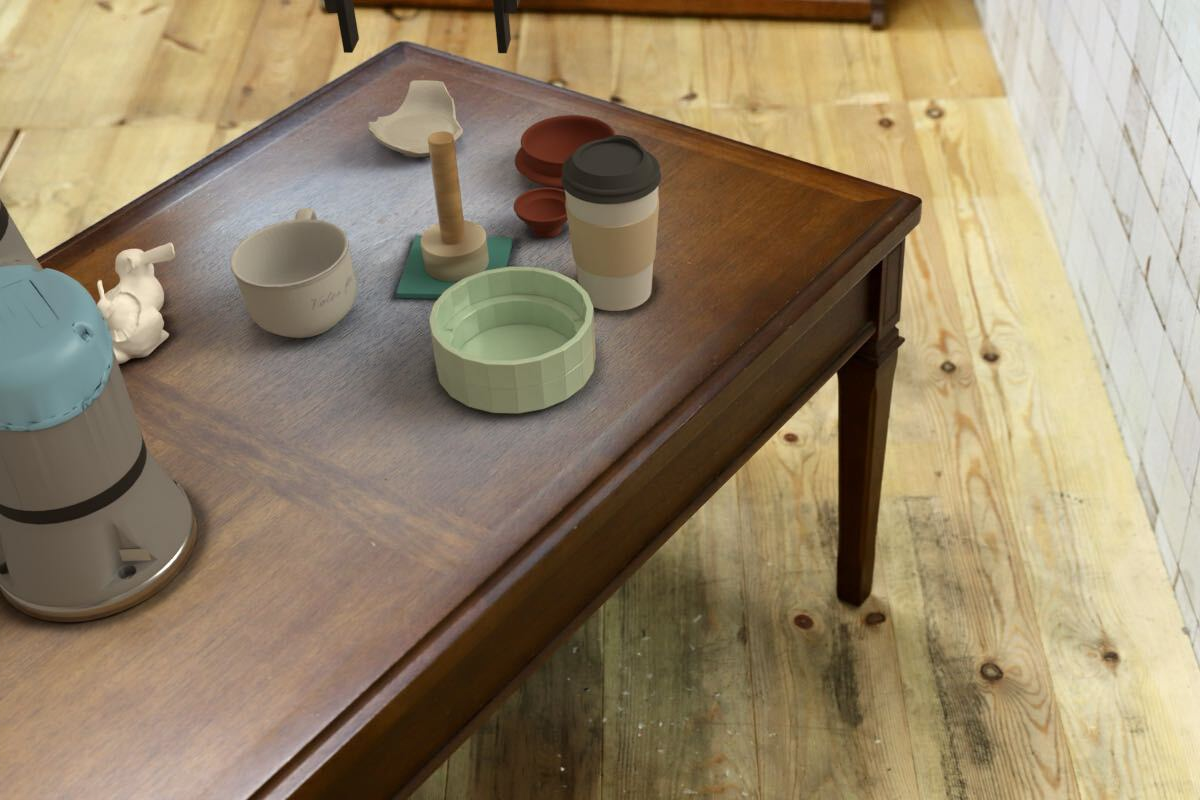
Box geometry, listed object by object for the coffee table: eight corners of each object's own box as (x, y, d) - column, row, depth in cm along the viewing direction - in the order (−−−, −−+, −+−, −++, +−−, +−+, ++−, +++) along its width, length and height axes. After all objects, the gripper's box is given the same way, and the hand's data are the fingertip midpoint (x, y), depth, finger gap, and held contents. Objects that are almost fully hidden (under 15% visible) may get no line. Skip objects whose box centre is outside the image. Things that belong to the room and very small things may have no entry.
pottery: (633, 150, 152) (632, 114, 149) (596, 251, 137) (594, 214, 134) (530, 143, 154) (528, 107, 151) (483, 242, 139) (479, 205, 137)
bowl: (424, 416, 119) (415, 362, 115) (451, 317, 130) (444, 265, 126) (587, 421, 118) (584, 366, 114) (601, 320, 129) (599, 267, 125)
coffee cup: (639, 327, 128) (636, 187, 118) (552, 305, 131) (541, 168, 121) (677, 274, 134) (676, 138, 124) (592, 255, 137) (585, 120, 127)
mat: (396, 298, 133) (395, 293, 132) (415, 240, 140) (415, 235, 140) (499, 300, 132) (498, 295, 131) (513, 241, 139) (512, 236, 139)
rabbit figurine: (146, 294, 135) (120, 210, 128) (216, 303, 133) (193, 219, 127) (81, 370, 126) (49, 283, 120) (154, 381, 124) (126, 294, 118)
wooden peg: (419, 282, 134) (400, 155, 124) (429, 244, 138) (411, 120, 129) (484, 282, 133) (470, 155, 124) (492, 244, 138) (479, 120, 129)
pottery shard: (377, 176, 150) (370, 135, 147) (361, 129, 158) (354, 89, 155) (470, 158, 152) (465, 117, 149) (449, 113, 160) (444, 73, 157)
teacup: (339, 359, 126) (324, 287, 121) (228, 347, 128) (209, 277, 122) (387, 272, 136) (375, 202, 131) (284, 263, 138) (268, 194, 133)
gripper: (224, -191, 105) (277, 65, 119) (549, -195, 103) (564, 66, 117) (252, -221, 111) (299, 26, 125) (559, -225, 109) (573, 27, 122)
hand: (427, 46), depth 121 cm, fingers open, 13 cm apart
